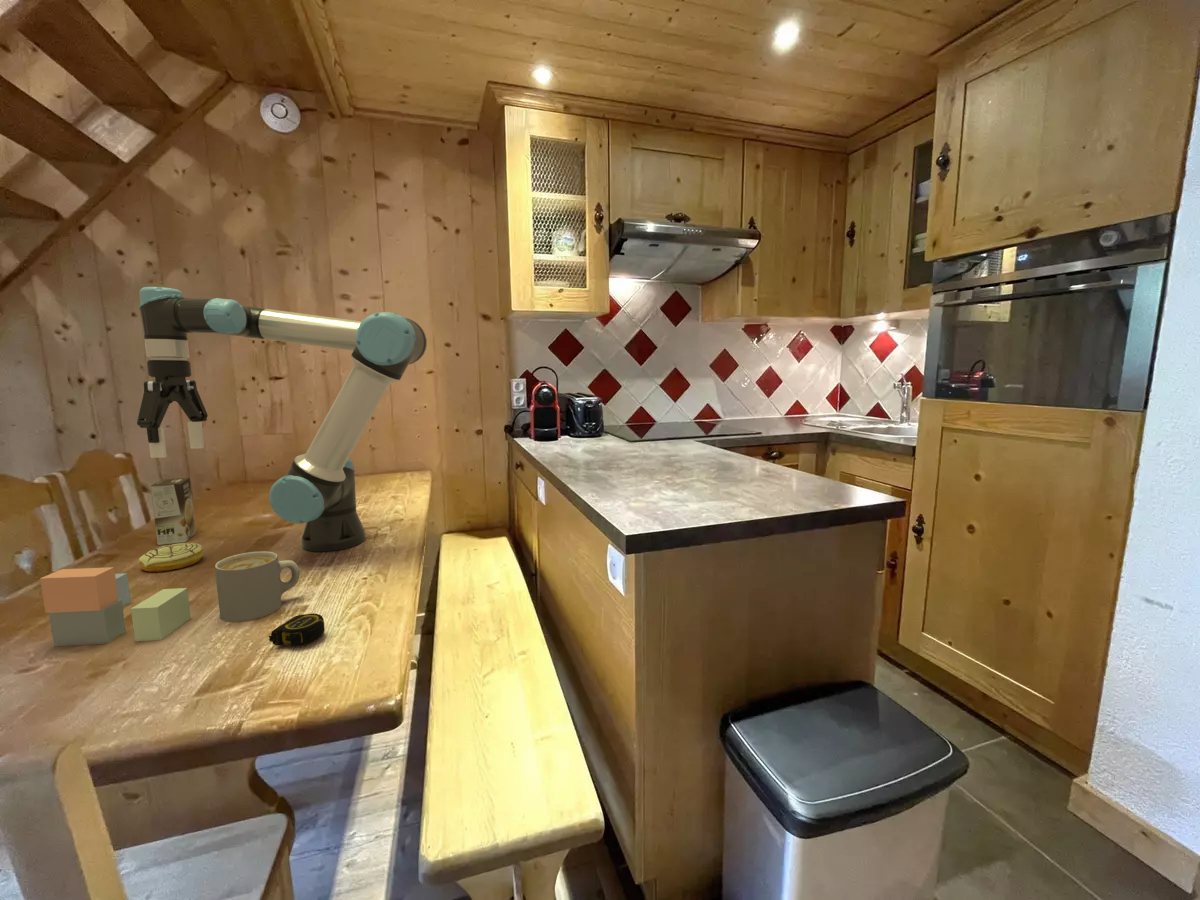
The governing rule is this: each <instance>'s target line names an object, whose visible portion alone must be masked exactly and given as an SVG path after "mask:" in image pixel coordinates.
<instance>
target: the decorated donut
mask: <svg viewBox="0 0 1200 900" xmlns="http://www.w3.org/2000/svg"><path fill="white" fill-rule="evenodd" d="M203 556H204V549H203V546H202V545H201V544H199V543H196V542H195V543H194V542H183V543H173V544H166V545H163V546H160V547H157V548H153V549H151V550H149V551H148V552H146V553H144V554H143V555H142V556H140V557H139V559H138V560H139V563H140V568H141V570H143V571H146V572H150V573H151V572H152V573H153V572H155V573H156V572H157V573H159V572H164V571H166V572H169V571H173V570H178V569H180V570H181V569H183V568H187V567H189V566H193V565H195V564H197V563H198V562H199V561H200V560H201V559H202V557H203Z"/></svg>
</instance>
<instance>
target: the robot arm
mask: <svg viewBox="0 0 1200 900" xmlns="http://www.w3.org/2000/svg"><path fill="white" fill-rule="evenodd" d="M138 306H139V310H140V316H141V322H142V328H143V339H144V348H145V356H146V357H147V358H150V360H149V359H148V360H147V361H146V367H147V374H148V376H149V377H151V378H154V381H145V380H144V381H143V396H142V400H141V404H140V408H139V412H138V417H137V421H136V424H137V426H138V427H139V428H141V429H146V435H147V441H148V445H149V446H148V448H149V455H150V458H153V459H156V458H158V459H160V458H163V459H164V458H167V456H168V454H167V448H166V440H165V430H164V427H161V425H162V423H163V420H164V418H165V416H166V413H167V411H168V409H169V406H170V404H172V403H173V402H176V403H177V404H178V405H179V407H180V409H182V411H183V413H185V415H186V417H187V418H188V420H189V421H187V431H188V439H189V446H190V447H189V448H190V449H191V450H192V449H193V450H194V449H195V450H196V449H205V441H204V431H203V423H202V422H207V420H208V412H207V410H206V407H205V405H204V403H203V400H202V398H201V396H200V393H199V391H198V388H197V382H196V380H190V379H189V380H188V379H186V378H190V377H191V376H192V368H191V367H192V366H191V361H189V360H187V359H189V358H190V350H189V342H188V333H190V334H192V333H194V334H195V333H196V334H217V335H225V336H226V335H228V336H236V337H241V338H242V337H243V338H250V339H260V340H268V341H275V342H276V341H277V342H284V343H293V344H300V345H307V346H308V345H309V346H313V347H315V346H316V347H323V348H331V349H338V350H346V351H352V352H351V354H350V358H351V361H352V362H353V363H352V364H353V366H352V368H351V370H350V372H349V374H348V375H347V378H346V380H345V381H344V383H343V385H342V386H341V387H340V390H339V392H338V394H337V395H336V398H335V399H334V401H333V403H332V405H331V407H330V409H329V410H328V412H327V414H326V416H325V417H324V420H323V421H322V423H321V425H320V427H319V428H318V431H317V432H316V435H315V436H314V438H313V440H312V442H311V443H310V445H309V446H308V448H307V450H306V452H305V453H303V454H299V455H297V456H296V457H294V459H293V461H292V463H291V465H290V466H289V468H288V470H287V472H286V474H285V475H284V476H281V477H280V478H279V479H277V480H276V481H275V482H274V483H273V484H272V486H271V488H270V489H269V494H268V499H269V504H270V506H271V508H272V511H273V512H274V513H275V514H276V515H277V517H279V518H280V519H282V520H283V521H285V522H288V523H292V524H295V525H301V524H304V525H305V526H304V530H303V532H302V535H301V536H302V537H301V546H302V547H301V548H302V549H303V550H305V551H310V552H331V551H332V552H333V551H341V550H345V549H349V548H352V547H353V548H354V547H355V546H358V545H360V544H362V543H363V542H365V540H366V531H365V528H364V526H363V523H362V521H361V518H360V517H359V514H358V511H357V498H356V497H357V495H356V482H355V481H356V479H355V472H356V471H355V469H354V468H355V467H354V461H353V459H350V456H351V454H352V453H353V451H354V449H355V448H356V446H357V444H358V442H359V440H360V439H361V437H362V435H363V432H364V431H365V430H366V428H367V426H368V424H369V423H370V420H371V419H372V417H373V415H374V413H375V412H376V410H377V407H378V406H379V404H380V403H381V401H382V399H383V397H384V395H385V394H386V392H387V390H388V388H389V386H390V385H391V384H393V383H396V382H400V380H401V379H402V377H403V375H404V373H405V372H406V370H407V368H408V366H409V365H412V364H415V363H416V362H418V361H419V360H421V359H422V357H423V356H424V355H425V352H426V350H427V345H428V344H427V343H428V342H427V335H426V333H425V331H424V329H423V328H422V326H420V325H419V323H417V322H416V321H414V320H412V319H410V318H407V317H404V316H403V315H400V314H398V313H396V312H391V311H390V312H389V311H383V312H382V311H381V312H375V313H372V314H370V315H367V317H365V318H364V319H362V320H354V319H346V318H339V317H333V316H331V317H330V316H325V315H324V316H323V315H316V314H309V313H302V312H293V311H286V310H285V311H284V310H278V309H277V310H276V309H272V308H271V309H270V308H263V307H256V306H250V305H249V306H247V305H242V304H240V303H239V302H238V301H237V300H234V299H229V298H228V299H227V298H221V297H216V298H188V297H187V298H186V297H184V294H183V292H182V291H181V290H179V289H176V288H170V287H165V286H163V287H161V286H160V287H159V286H144V287H141V289H139V305H138Z"/></svg>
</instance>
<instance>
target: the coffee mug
mask: <svg viewBox="0 0 1200 900" xmlns="http://www.w3.org/2000/svg"><path fill="white" fill-rule="evenodd" d="M278 556H279V555H278V554H277V553H275V552H273V551H261V550H260V551H251V552H243V553H239V554H235V555H231V556H228V557H225V558H223V559H221V560H219V561H217V562H216V563H215V565H214V570H215V580H216V591H217V597H218V598H217V600H218V608H219V618H220V619H221V620H222V621H225V622H231V623H238V622H247V621H253V620H256V619H261V618H263V617H266V616H268V615H270V614H273V613H275V612H277V611H278V610H279V609H280V608H281V607H282V605H283V604H282V596H283V594H285V592H287V591H289V590H290V589H292V588H293V587H295V586H296V585H297V584H298V582H299V580H300V569H299V568H300V567H299V565H298V564H297V563H296V562H295V561H294V560H291V559H290V560H289V559H287V560H286V559H285V560H279V558H278ZM285 568H289V570H290V571H291V578H290V579H289V580H288V581H282V579H281V572H282V570H283V569H285Z"/></svg>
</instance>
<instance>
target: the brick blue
mask: <svg viewBox="0 0 1200 900" xmlns="http://www.w3.org/2000/svg"><path fill="white" fill-rule="evenodd" d="M115 577H116V585H117V592H118V599H119V600H122V606H123V607H124V606H126V605H128V604H130V603H131V602H132V600H131V599H132V598H131V594H130V593H131V592H130V585H129V578H128V573H115Z"/></svg>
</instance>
